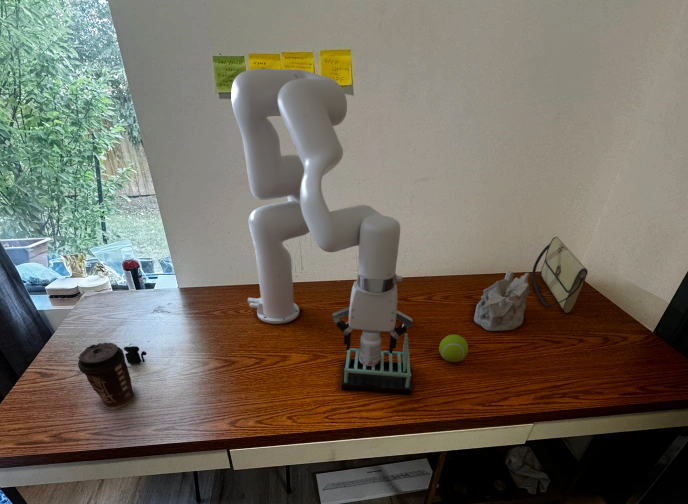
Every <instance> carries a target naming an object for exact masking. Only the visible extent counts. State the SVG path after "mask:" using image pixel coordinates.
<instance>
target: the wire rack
mask: <svg viewBox="0 0 688 504" xmlns="http://www.w3.org/2000/svg"><path fill="white" fill-rule="evenodd" d="M408 336H409V335H408V333H404V339H403V347H402V351H395V350H393V351H392V354H391V353H389V350H382V349H381V351H380V360H379V362H378V364H376V365H374V366H367V365H364V364H362V363H361V362H360V360H359V353H360V348H353V347H350V350H347V349H346V357H345V358H344V363H343V370H342V377H341V385H340V387H341V388H340V389H341V390H342V391H354V392H355V391H356V392H366V393H379V394H391V395H402V396H403V395H404V396H411V395H412V390H413V389H412V373H411V361H410V355H411V354H410V349H409V347H410V345H409V337H408ZM352 353H355V355H354V358H351V357H352ZM385 355H386V356H388V360H385ZM393 356H397V361H393Z"/></svg>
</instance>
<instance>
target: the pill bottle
mask: <svg viewBox="0 0 688 504" xmlns="http://www.w3.org/2000/svg"><path fill="white" fill-rule="evenodd" d="M381 332H382V331H372V330H361V336H360V338H359V339H360V340H359V349H360V353H359V356H358V359H359V360H360V362H361V363H362V364H364V365H367V366H374V365H376V364H378V362H379V361H381V354H380V351H381V350H382V337H381Z"/></svg>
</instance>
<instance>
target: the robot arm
mask: <svg viewBox="0 0 688 504" xmlns="http://www.w3.org/2000/svg"><path fill="white" fill-rule="evenodd" d="M230 91H231V92H230V93H231V94H230V97H231V106H232V112H233V115H234V118H235V120H236V121H235V122H236V123H237V126H238V129H239V131H240V135H241V139H242V144H243V153H244V159H245V166H246V172H247V178H248V179H247V180H248V185H249V189H250V193H251V194H252V196H253V197H254V198H255V199H257V200H259V201H270V200H271V201H272V200H277V199H281V198H286V197H287V201H286V200H285V201H283V202H275V203H271V204H267V205H262V206H259V207H257V208H255V209H253V210H252V211H251V212H250V214H249V216H248V222H247V223H248V229H249V232H250V235H251V239H252V243H253V246H254V253H255V259H256V268H257V276H258V277H257V278H258V285H259V292H260V293H259V294H260V297H258V298H256V297H248V298H247V305H249V308H250V309H257V310H256V316H257V318H258V319H259V320H261V321H262V322H264V323H267V324H270V325H271V324H273V325H279V324H280V325H281V324H286V323H290V322H292V321H294V320H296V319H297V318H298V317H299V315H300V307H299V305H297V304H296V303H295V302H294V301H295V300H294V299H295V298H294V282H293V281H294V280H293V264H292V255H291V253H290V252H289V250H288V249H287V248H286V247H285V246H284V244H283V243H284V242H286V241H288V240H292V239H295V238H299V237H302V236H305V235H308V234H309V233H310V236H311V237H312V239H313V241H314V242H315V244H316V245H317V246H318V247H319V249H320V250H322V251H324V252H327V253H337V252H340V251H343V250H346V249H349V248H352V247H358V258H357V259H358V260H357V276H356V280H354V282H353V284H352V287H351V292H350V299H349V306H348V307H345V308H342V309H339V310H337V311H334V312H333V313H332V316H331V317H332V320H333V322H334V323H335V325H336V327H337V328H338V329H339V330H340V331H341V332H342V334H343V345H344V346H345V345H346V351H347V350H350V348H351V343H352V342H351V341H352V331H354V330H361V331H363V330H372V331H381V332H387V333H389V334H390V335H389V336H390V337H389V342H388V351H389V353H391V354H392V351H394V349H397V342H398V340H399V338H400V337H401V336H402V335H403V334H404V335H405V334H406V332H407V330H408V329H409V328H410V327H411V326H412V325H413V323H414V322H413V318H411V317H410V316H409V315H406V314H405V313H403V312H402V311H399V310H398V285H397V284H402V281H403V275H402V276H401V275H398V274H397V273H396V270H397V263H398V262H397V261H398V256H399V255H398V254H399V246H400V238H401V224H400V222H399V221H398V219H396V218H394V217H391V216H387V215H383V214H382V213H380V212H379V211H378V210H376V209H375V208H373V207H371V206H369V205H367V204H357V205H353V206H349V207H344V208H339V209H335V210H329V207H328V205H327V203H326V200H325V198H324V195H323V190H322V181H323V177H324V176H326V175H327V174H328V173H329V172H330V171H332V170H333V169H334V168H335V167H337V165H338V164H340V162H341V161H342V159H343V156H344V148H343V146H342V144H341V142H340V139H339V136H338V135H337V132H336V130H335V128H334V127H336V126H339V125H340V124H341V123H343V121H344V120H345V118H346V116H347V112H348V99H347V96H346V93H345V90H344V89H343V87H342V85H341V84H339V82H337V81H336V80H334V79H333V78H330V77H328V76H323V75H321V74H317V73H314V72H311V71H308V70H303V69H289V68H288V69H285V68H284V69H283V68H282V69H279V68H278V69H277V68H254V69H248V70H244V71H242V72H240V73H239V74H238V75H236V77H235V78H234V79H233V82H232V86H231V90H230ZM268 117H281V118H282V121H283V123H284V125H285V127H286V130H287V132H288V135H289V137H290V139H291V141H292V143H293V147H294V148H295V151H296V153H297V154H285V155H282V152H281V141H280V136H279V134H278V131H277V129H276V128H275V126H274V124H273V123H272V122H271V120H270V119H269V118H268ZM347 316H348V321H347V322H345V321H343V319H342V318H344V317H347ZM397 320H398V321H399V322H402V324H400V325H399V326H397V325H396V323H397Z"/></svg>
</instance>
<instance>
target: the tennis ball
mask: <svg viewBox="0 0 688 504" xmlns="http://www.w3.org/2000/svg"><path fill="white" fill-rule="evenodd" d="M438 350H439V354H440V356H441V358H442V359H444V360H445V361H447V362H449V363H459V362H461V361H463V360H464V359H465V358H466V357H467V355H468V353H469V344H468V341H467V340H466V339H465V338H464V337H462V336H461V335H460V334H449V335H446V336H445V337H443V338H442V340H441V341H440V343H439V346H438Z"/></svg>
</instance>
